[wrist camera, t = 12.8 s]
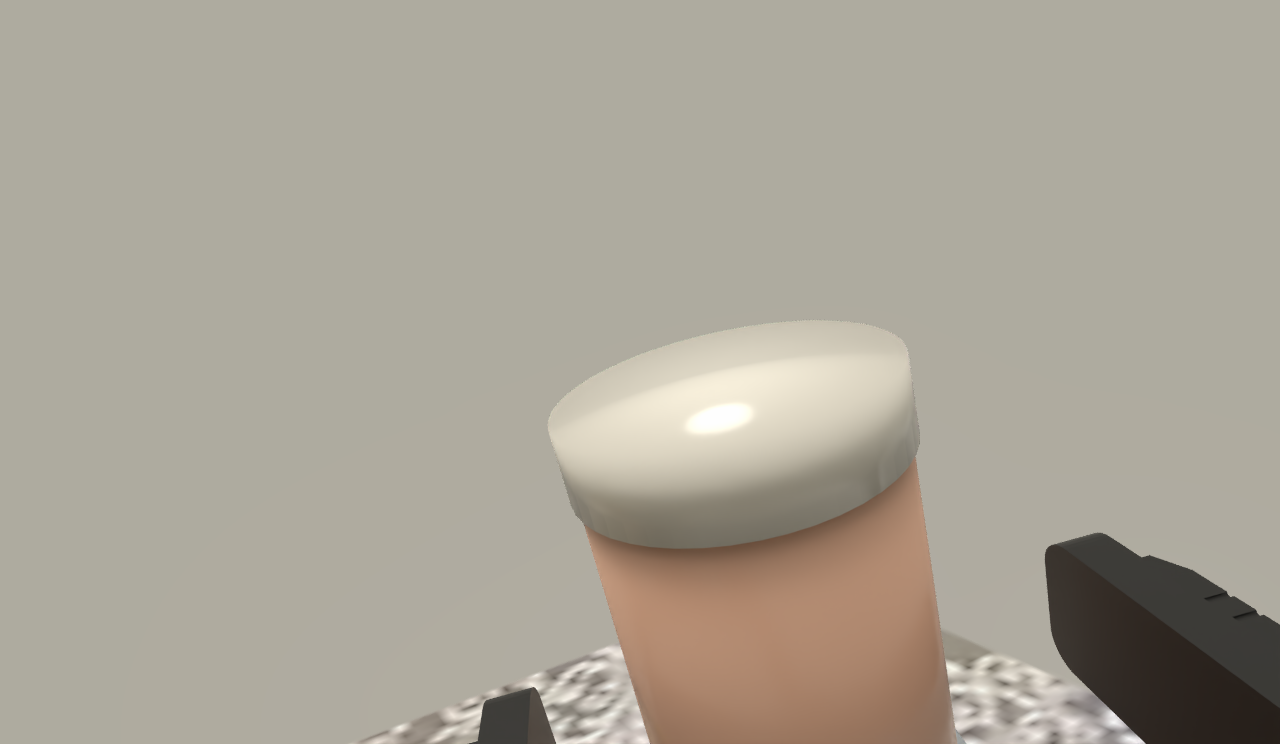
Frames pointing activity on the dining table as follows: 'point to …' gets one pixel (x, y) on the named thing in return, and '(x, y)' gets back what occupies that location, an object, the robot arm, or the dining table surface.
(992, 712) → the dining table surface
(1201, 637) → the robot arm
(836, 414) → the canister
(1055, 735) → the dining table surface
